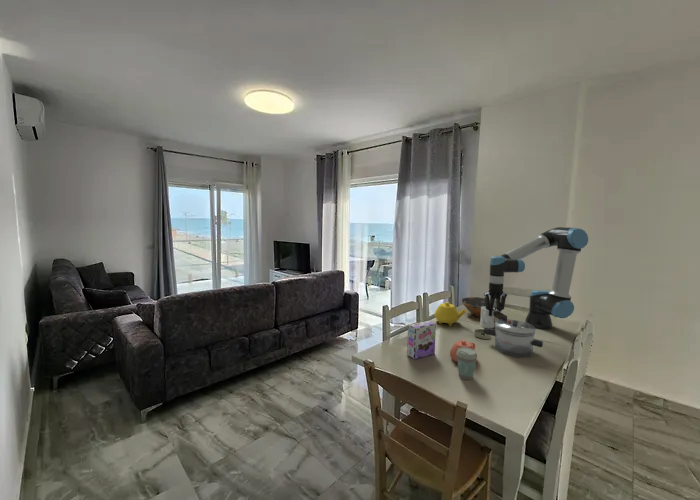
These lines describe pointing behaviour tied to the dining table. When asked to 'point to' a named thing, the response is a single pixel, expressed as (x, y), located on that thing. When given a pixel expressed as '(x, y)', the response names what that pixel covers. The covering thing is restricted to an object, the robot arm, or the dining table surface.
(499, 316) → the lid
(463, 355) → the coffee cup
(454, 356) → the sugar bowl
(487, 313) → the mug
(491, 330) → the pot
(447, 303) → the teapot
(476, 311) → the bowl
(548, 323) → the robot arm
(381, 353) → the dining table surface
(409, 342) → the candy box
